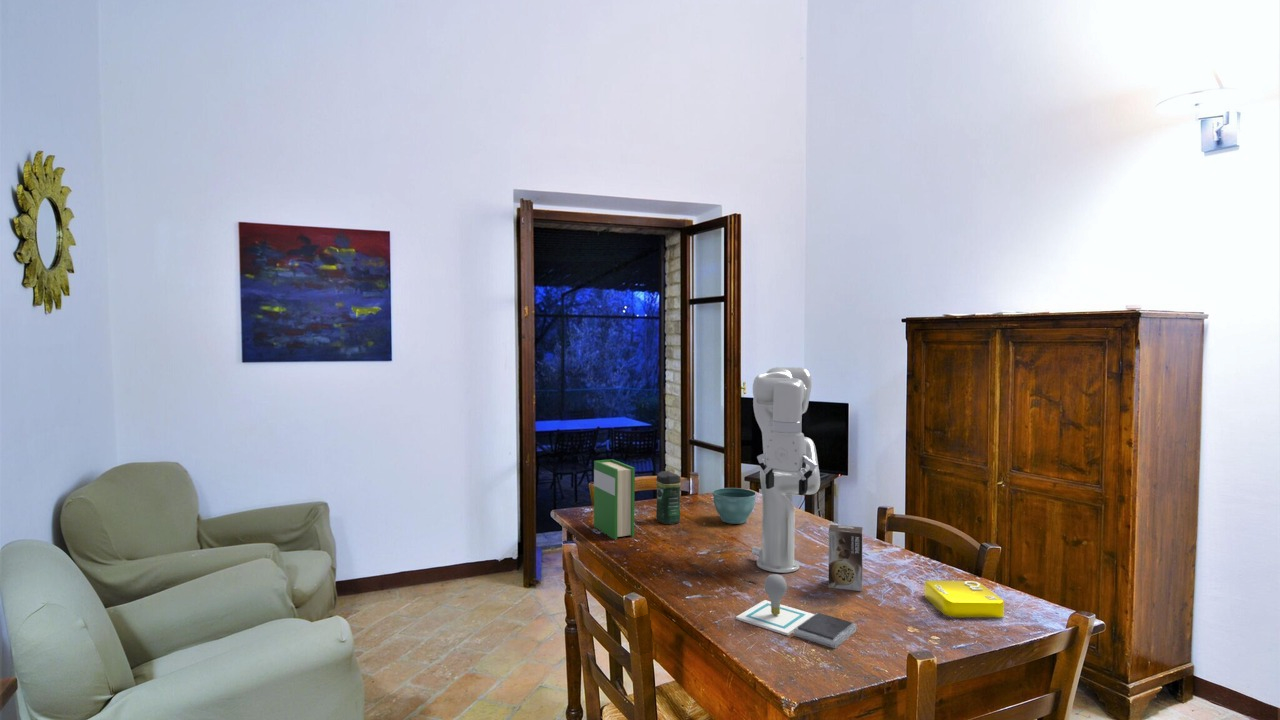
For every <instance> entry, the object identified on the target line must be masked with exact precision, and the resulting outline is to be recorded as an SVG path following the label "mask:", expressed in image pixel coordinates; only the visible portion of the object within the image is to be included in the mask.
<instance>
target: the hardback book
mask: <svg viewBox="0 0 1280 720" xmlns="http://www.w3.org/2000/svg"><path fill="white" fill-rule="evenodd" d="M593 465H594V466H593V527H594V526H595V527H596V528H595V527H594V528H595V529H597V528H598V529H599V531H600V530H601V531H602V532H601V531H600V532H601V533H603V532H604V533H603V534H604V535H606V534H607V535H606V536H608V537H609V536H610V537H609V538H611V539H613V540H614V539H615V540H614V541H617V540H618V538H620V537H626V536H629V535H630V536H631V537H630V536H629V537H630V538H635V493H636V492H635V489H636V488H635V486H636V485H635V481H636V480H635V477H636V474H635V471H636V470H635V467H634V466H631V465H628V464H626V463H623V462H621V461H618V460H615V459H601V460H593ZM598 529H597V530H598ZM616 539H617V540H616Z"/></svg>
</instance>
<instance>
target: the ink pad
mask: <svg viewBox="0 0 1280 720" xmlns="http://www.w3.org/2000/svg"><path fill="white" fill-rule="evenodd" d="M857 625H858V624H857V623H854V622H853V621H848V620H845V619H841V618H839V617H834V616H832V615H831V616H830V615H827V614H824V613H821V612H816V613H815V615H813V616H812V617H810V618H809V619H807V620H806V621H804V622H803V623H802V624H800V625H799V626H797V627H796V628H794V632H793V636H794V637H797V638H800V639H804V640H807V641H809V642H813V643H816V644H819V645H822V646H825V647H828V648H832V649H836V648H838V647H839V646H840V645H842V644H843V643H844V642H845V641H846V640H847V639H849V638H850V637H851V636H853V635H854V634H855V633H856V632H857V631H858V629H857V628H858V626H857Z"/></svg>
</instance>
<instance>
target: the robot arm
mask: <svg viewBox="0 0 1280 720" xmlns="http://www.w3.org/2000/svg"><path fill="white" fill-rule="evenodd" d="M811 392H812V376H811V374H810V372H809V371H808V369H806V368H805V367H786V366H785V367H784V366H783V367H782V366H781V367H780V366H778V367H772V368H770V369H768V370H767V371H766V372H765V373H763V374H759V375H756V376H755V378H754V380H753V384H752V396H753V400H752V403H753V404H752V407H753V413H754V417H755V421H756V422H757V424H758V426H759V427H758V428H759V429H760V431H761V436H762V437H761V439H762V451H763V453H761V454H759V455H757V456H756V459H757V461H758V463H759V467H760V471H759V480H760V487H761V496H762V498H761V499H762V523H761V524H762V525H761V526H762V527H761V528H762V529H761V530H762V533H761V534H762V535H761V536H762V537H761V539H762V541H761V547H760V546H759V547H758V546H754V545H753V546H752V547H751V554H752V555H754V556H758V558H757V559H756V566H757V567H758V568H760V569H762V570H764V571H767V572H771V573H778V574H779V573H781V574H783V573H784V574H786V573H793V572H796V571H798V570H799V569H800V562H799V561H798V560H796V559H795V537H796V536H795V528H796V526H795V525H796V523H795V520H796V519H795V518H796V512H795V506H794V504H793V503H792V501H791V500H790V499H789V498H788V496H787V495H800V496H804V495H815V494H816V493H817V492H818V491H819V489H820V486H821V476H820V475H821V474H820V473H821V472H820V469H819V468H820V467H819V461H818V454H817V449H816V445H815V443H814V440H813V439H811V438H810V437H807V436H805V434H804V433H803V432H802V430H803V429H802V425H803V423H802V418H803V417H802V416H803V414H805V413H807V411H808V408H809V401H810V395H811Z"/></svg>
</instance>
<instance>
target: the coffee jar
mask: <svg viewBox="0 0 1280 720" xmlns="http://www.w3.org/2000/svg"><path fill="white" fill-rule="evenodd" d="M681 484H682V483H681V476H680V475H679V474H676V473H673V472H671V471H669V470H666V471H659V472H658V473H657V475H656V510H655V511H656V513H655V514H656V516H655V518H656V520H657V522H659V523H661V524H663V525H667V524H668V525H669V524H670V525H675V524H679V523H680V522H681Z"/></svg>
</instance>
